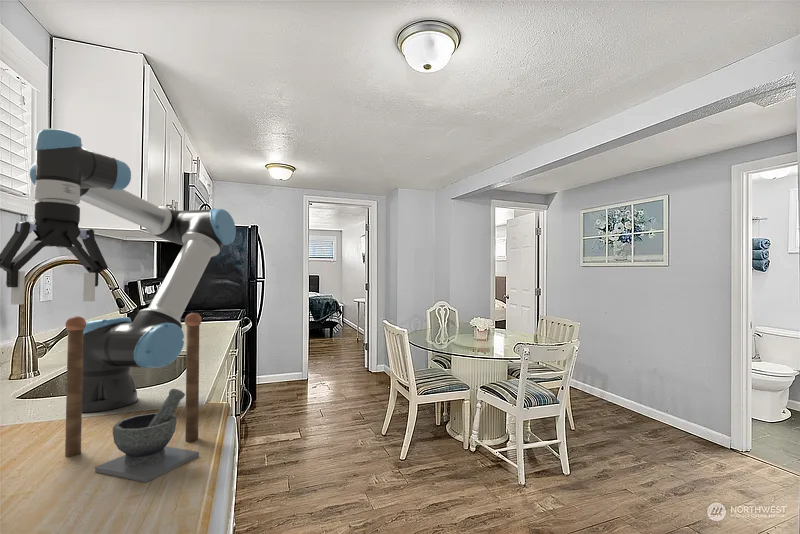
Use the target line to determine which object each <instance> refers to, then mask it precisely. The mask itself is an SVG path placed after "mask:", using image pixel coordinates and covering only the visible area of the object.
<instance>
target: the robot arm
mask: <svg viewBox="0 0 800 534" xmlns="http://www.w3.org/2000/svg"><path fill="white" fill-rule="evenodd" d="M29 178H30V181H31V182H32V183H33V185H34V187H35V188H34V189H35V190H34V199H35V201H37V202H36V203H35V204H34V221H35V222H34V224H33V223H30V222H29V221H20V222H19V221H18V222H16V223H15V227H14V232H13V234H12V236H11V237H10V239H9V240H8V241H7V243H6V244H5V246H4V248H3V249H2V251H1V252H0V269H2V270H3V271H5V272H6V281H5V284H6V287H7V288H11V289H10V305H19V306H20V305H24V304H25V282H26V281H25V276H26V275H25V274H26V271H23V270H21V269H22V268H23V267H24V266H25V265H27V263H28V262H29V261H30V260H32V258H33V257H34V256H36V255H37V254H38V253H39V252H41V250H42V249H43V248H45V247H56V248H66V249H67V250H69V251H70V252H71V253H72V255H73V256H74V257H75V259H77V260H78V262H79V263H80V264H81V265H82V267H84V269H85V270H86V272H84V273H83V293H82V299H83V300H82V301H83V302H96V287H98V286H99V273H102V272H103V271H106V270H108V268H109V267H108V264H107V262H106V260H105V257H104V256H103V254H102V252H101V250H100V247H99V245H98V243H97V240H96V239H95V238H96V237H95V231H94V229H91V228H89V229H80V227H79V224H80V218H81V207H80V206H79V204H81V201H82V202H84V203H87V204H89V205H91V206H93V207H96V208H98V209H100V210H103V211H105V212H108V213H110V214H113V215H114V216H117V217H119V218H122V219H124V220H126V221H129V222H131V223H132V224H135V225H138V226H140V227H142V228H145V230H146V231H147V232H148V233H149V234H150V235H152V236H156V237H158V238H160V239H163V240H165V241H167V242H169V243H175V244H177V245H181V246H182V247H181V249H180V251H179V252H178V253H177V254H178V255H177V256H176V258H175V260H174V262H173V263H172V265H171V267H169V270H168V272H167V273H166V276H165V277H164V279H163V281H162V283H161V284H160V286H159V288H158V290H157V291H156V293H155V295H154V297H153V298H152V300H151V302H150V304H149V305H148V307H147V308H146V307H145V308H143V309H140V310H139V311H138V313H137V315H136V316H135V317H134V320H133V321H132V319H131V317H128V316H126V317H125V316H124V317H123V316H122V317H116V318H115V317H114V318H107V319H105V318H104V319H98V320H90V321H86V327H85V328H84V332H83V380H82V413H93V412H101V411H102V412H103V411H109V410H115V409H118V408H123V407H126V406H130V405H131V404H134V403H136V402H137V400H138V390H137V388H136V384H135V383H134V380H133V377H132V374H131V368H142V369H155V368H163V367H166V366H168V365H170V364H172V363H173V362H174V361H175V360H177V359H178V357H179V355H180V354H181V352H182V350H183V348H184V345H185V340H183V339H184V338H185V333H184V331H183V329H182V328H183V323H182V321H181V318H182V316H183V314H184V312H185V310H186V308H187V306H188V304H189V302H190V300H191V299H192V296H193V294H194V293H195V290H196V288H197V286H198V284H199V282H200V280H201V278H202V277H203V274H204V273H205V270H206V268H207V266H208V264H209V262H210V260H211V258H212V257H216V256H218V255H219V253H220V252H221V250H222V249H223V246H229V245H231V244H232V243H233V242H234V241H235V238H236V235H237V231H236V228H237V227H236V224H235V221H234V218H233V217H232V215H231V213H230V212H228V211H227V210H226V209H223V208H211V209H210V208H209V209H194V210H192V209H191V210H175V209H171V208H168V207H167V206H163V205H159V206H157V205H155V204H154V203H152V202H150V201H147V200H145V199H143V198H142V197H140V196H137V195H136V194H133V193H131V192H129V191H128V190H125V189H126V188H127V187H128V186H129V185H130V183H131V181H132V171H131V168H130V167H129V165H128V164H127V163H126V162H124V161H121V160H119V159H116V158H115V157H113V156H112V157H111V156H107V155H106V154H105V155H104V154H101V153H97V152H95V151H92V150H88V149H86V148H84V147H83V144H82V138H81V137H80V136H79V135H78V134H76V133H74V132H71V131H68V130H63V129H59V128H58V129H57V128H45V129H41V130H40V131H38V133H37V136H36V145H35V162H34V163H33V164H32V165H31V166H30V169H29ZM32 232H33V233H34V234H35V236H36V237H35V238H33V240H32V241H30V243H29V244H28V246H26V247H25V248H24V249H23V250H22V251H21V252H19V250H20V249H21V247H22V246H23V245H24V244H25V243H24V242H25V241H26V240H27V238H28V237H29V235H30V234H31V233H32ZM78 238H81V240H82V243H83V245H84V247H85V249H84V248H83V245H82V243H81V242H80V241H79V239H78ZM18 252H19V254H18ZM20 270H21V271H20Z"/></svg>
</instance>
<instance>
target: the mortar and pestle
mask: <svg viewBox="0 0 800 534" xmlns="http://www.w3.org/2000/svg"><path fill="white" fill-rule="evenodd" d="M185 397H186V393H185V392H183V391H182V390H181V389H177V388H170V390H169V391H168V396H167V397H166V399H165V400H164V402H163V403H162V405H161V406H160V408H159V409H158V411H157V412H152V413H146V414H139V415H133V416H130V417H127V418H125V419H121V420H118V421H117V422H116V423H115V424H114V425H113V426H112V437H113V443H114V444H115V446H116V447H117V449H118V450H119V451H120V452H121V453H123V454H124V455H126V457H125V464H126V465H127V466H129V467H141V466H145V465H150V464H154V463H156V462H158V461H160V460H162V459H163V458H164V456H165V450H164V447H165V446H167V445H168V444H169V443H170V441H171V439H172V438H173V436H174V434H175V433H176V426H177V415H175V414H174V413H175V411H176V409H177V408H178V406H179V405H180V402H181V400H182V399H184V398H185Z"/></svg>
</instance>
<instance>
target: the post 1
mask: <svg viewBox="0 0 800 534" xmlns="http://www.w3.org/2000/svg"><path fill="white" fill-rule="evenodd" d="M86 322H87V320H86V319H85V318H84V317H82V316H80V315H74V316H71V317H69V318H68V319H67V320H66V322H65V328H66V330H67V352H66V353H67V358H66V359H67V360H66V366H67V367H66V399H65V400H66V401H65V403H66V405H65V409H66V410H65V440H64V441H65V444H64V446H65V450H64V457H75V456H79V455H80V454H81V453H82V425H83V424H82V423H83V422H82V421H83V420H82V419H83V418H82V416H83V415H82V414H83V412H82V380H83V332H84V328H85V327H86Z"/></svg>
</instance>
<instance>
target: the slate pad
mask: <svg viewBox="0 0 800 534" xmlns="http://www.w3.org/2000/svg"><path fill="white" fill-rule="evenodd" d="M164 450H165V456H164V458H163V459H162V460H160V461H158V462H156V463H154V464H150V465H145V466H141V467H129V466H127V465H126V464H125V457H126V454H124V455H122V456H119V457H116V458H114V459H112V460H109V461H107V462H104V463H102V464H99V465H97V466H95V467H94V472H95V473H99V474H103V475H108V476H113V477H116V478H117V477H118V478H124V479H128V480H133V481H137V482H142V483H147V482H149V481H152V480H154V479H155V478H157V477H160V476H162V475H163V474H166V473H168V472H169V471H171V470H174V469H176V468H178V467H180V466H181V465H184V464H186V463H188V462H189V461H192V460H194V459H196V458H199V457H200V451H195V450H191V449H183V448H180V447H172V446H167V445H166V446H165V447H164Z"/></svg>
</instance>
